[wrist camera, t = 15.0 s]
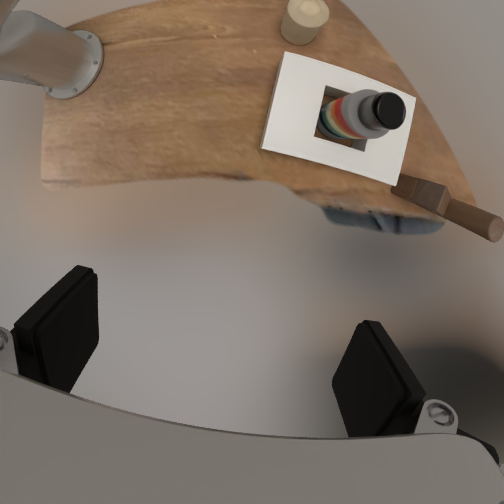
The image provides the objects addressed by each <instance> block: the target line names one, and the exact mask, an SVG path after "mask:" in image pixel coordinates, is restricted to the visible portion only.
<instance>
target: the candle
mask: <svg viewBox="0 0 504 504" xmlns="http://www.w3.org/2000/svg"><path fill="white" fill-rule="evenodd" d="M328 18H329V9H328V7H327V5H326V4H325V3H324V2H323V1H322V0H290V1H289V3H288V6H287V9H286V12H285V14H284V17H283V20H282V23H281V27H280V30H281V34H282V36H283V37H284V39H285V40H287V41H288V42H290V43H292V44H295V45H305V44H308V43H310V42H311V41H312V40H313V39H314V38H315V36H316V35H317V34H318V32H319V31H320V30H321V28H322V27H323V26H324V24H325V23H326V22H327V20H328Z"/></svg>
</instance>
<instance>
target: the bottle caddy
mask: <svg viewBox="0 0 504 504" xmlns="http://www.w3.org/2000/svg"><path fill="white" fill-rule="evenodd" d="M363 89H372V90H375V91H378V92H380V93H381V92H393V93H395V94H397V95H398V96H400V97H401V99H402V100H403V102H404V104H405V107H406V117H405V120H404V122H403V124H402V125H401V126H400V127H399V128H397V129H395V130H389V132H388V133H387V134H385V135H384V136H382V137H380V138H376V139H353V141H352V145H351V148H350V147H347V146H344V145H341V144H337V143H334V142H331V141H327V140H324V139H320V138H317V137H314V133H315V129H316V125H317V120H318V116H319V112H320V108H321V103H322V99H323V94H325V95H328V96H331V97H335V98H338V99H339V98H342V97H344V96H347V95H349V94H351V93H354V92H357V91H359V90H363ZM415 101H416V98H415V97H412V96H410V95H408V94H406V93H404V92H402V91H399V90H397V89H395V88H392V87H390V86H388V85H385V84H383V83H381V82H378V81H376V80H373V79H371V78H368V77H365V76H363V75H360V74H357V73H355V72H352V71H349V70H346V69H343V68H340V67H337V66H334V65H331V64H328V63H325V62H322V61H318V60H315V59H312V58H308V57H305V56H301V55H297V54H294V53H290V52H286V51H285V52H284V55H283V57H282V59H281V61H280V63H279V67H278V71H277V76H276V80H275V84H274V88H273V92H272V96H271V101H270V105H269V109H268V113H267V117H266V122H265V126H264V130H263V135H262V139H261V143H260V147H259V148H262V149H266V150H270V151H275V152H279V153H283V154H287V155H291V156H295V157H299V158H303V159H307V160H311V161H314V162H318V163H322V164H325V165H329V166H332V167H336V168H339V169H343V170H346V171H350V172H353V173H356V174H359V175H363V176H366V177H369V178H372V179H375V180H378V181H381V182H384V183H387V184H390V185H393V186H396V185H397V181H398V177H399V173H400V169H401V165H402V161H403V157H404V153H405V149H406V145H407V140H408V136H409V131H410V127H411V122H412V117H413V112H414V107H415Z"/></svg>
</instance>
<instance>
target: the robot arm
mask: <svg viewBox="0 0 504 504" xmlns="http://www.w3.org/2000/svg"><path fill="white" fill-rule="evenodd" d="M18 1H19V0H0V80H7V81H14V82H20V83H26V84H32V85H38V86H43V88H44V90H45V91H46V92H47V94H49V95H50V96H52V97H54V98H57V99H69V98H73V97H75V96H77V95H79V94H81V93H82V92H84V91H85V90H86V89H87V88H88V87H89V86H90V85H91V84H92V83H93V82H94V80H95V78H96V77H97V75H98V73H99V71H100V69H101V66H102V63H103V57H104V51H103V46H102V43H101V41H100V39H99V38H98V37H97V36H96V35H95V34H93V33H92V32H89V31H86V30H76V31H72V32H71V31H69V30H67V29H65V28H63V27H61V26H59V25H57V24H56V23H54V22H51V21H49V20H48V19H46V18H44V17H42V16H40V15H38V14H35V13H33V12H30V11H24V10H23V11H22V10H21V11H13V12H12V10H13V9H14V7H15V6H16V4H17V3H18ZM97 63H98V64H97ZM97 280H98V278H97V274H95V273H94V272H93V269H92V268H88V267H84V266H80V265H77V266H75V267H74V268H73V269H72V270H71V271H70V272H68V273H67V274H66V275H65V276H64V277H63V278H62V279H61V280H59V281H58V282H57V283H56V284H55V285H54V286H53V287H52V288H51V289H50V290H49V291H47V293H45V294H44V295H43V296H42V297H41V298H40V299H39V300H38V301H37V302H36V303H35V304H34V305H33V306H32V307H31V308H30V309H28V310H27V312H26V313H24V314H23V315H22V316H21V317H20V318H19V319H18V320H17V321H16V322H15V323H14V328H13V329H12V330H11V331H10V332H9V331H8V330H7V329H5V328H3V327H0V504H504V464H501V465H500V466H498V464H499V458H498V454H497V452H496V450H495V448H494V447H493V446H491V445H489V444H487V443H485V442H483V441H481V440H479V439H477V438H475V437H473V436H471V435H470V434H468V433H466V432H464V431H462V430H460V429H458V428H457V425H458V417H457V415H456V413H455V411H454V410H453V408H451V407H450V406H449V405H448V404H446V403H444V402H442V401H440V400H434V399H433V400H428V401H426V402H425V403H424V402H423V400H422V399H423V398H424V396H425V395H426V392H425V391H424V389H423V388H422V386H421V384H420V383H419V381H418V380H417V378H416V377H415V375H414V373H413V372H412V370H411V369H410V367H409V365H408V364H407V362H406V361H405V359H404V358H403V356H402V355H401V353H400V352H399V350H398V349H397V347H396V346H395V344H394V343H393V341H392V340H391V338H390V337H389V335H388V334H387V332H386V331H385V329H384V328H383V326H382V325H381V323H380V322H377V321H370V320H364V321H363V322H362V323H359V324H358V325H357V327H356V329H355V331H354V334H353V336H352V338H351V341H350V343H349V345H348V347H347V349H346V351H345V354H344V356H343V358H342V360H341V362H340V364H339V366H338V368H337V371H336V372H335V375H334V376H333V380H332V388H333V391H334V394H335V397H336V399H337V403H338V406H339V409H340V412H341V415H342V418H343V421H344V424H345V427H346V430H347V433H348V437H343V438H342V437H341V438H319V437H318V438H317V437H314V438H313V437H312V438H311V437H290V436H273V435H260V434H249V433H241V432H232V431H224V430H217V429H211V428H204V427H198V426H192V425H187V424H182V423H176V422H171V421H166V420H162V419H157V418H153V417H149V416H144V415H140V414H136V413H132V412H128V411H125V410H121V409H117V408H114V407H110V406H107V405H104V404H101V403H97V402H94V401H91V400H88V399H84V398H82V397H79V396H76V395H73V394H70V391H71V390H72V388H73V386H74V384H75V382H76V381H77V379H78V377H79V375H80V374H81V372H82V370H83V369H84V367H85V365H86V363H87V362H88V360H89V358H90V357H91V355H92V353H93V352H94V350H95V348H96V347H97V344H98V341H99V326H98V281H97Z"/></svg>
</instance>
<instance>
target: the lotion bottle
mask: <svg viewBox="0 0 504 504" xmlns="http://www.w3.org/2000/svg"><path fill="white" fill-rule="evenodd" d="M405 117H406V107H405V104H404V102H403V100H402V99H401V97H400V96H398V95H397V94H395V93H393V92H381V93H380V92H378V91H375V90H372V89H363V90H359V91H357V92H354V93H351V94H349V95H347V96H344V97H342V98H339V99H337V100H334V101H332V102H330V103H327V104H325V105H324V106H322V107H321V108H320V112H319V116H318V120H317V126H318V129H319V130H320V131H321V133H322V134H324V135H325V136H327V137H329V138H333V139H376V138H380V137H382V136H384V135H385V134H387V133H388V132H389V130H395V129H397V128H399V127H400V126H401V125H402V124H403V122H404V120H405Z"/></svg>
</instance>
